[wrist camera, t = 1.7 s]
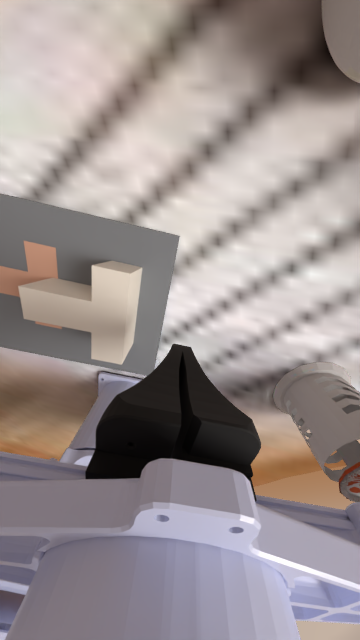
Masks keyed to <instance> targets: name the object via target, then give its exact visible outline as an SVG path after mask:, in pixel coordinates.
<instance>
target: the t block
mask: <svg viewBox="0 0 360 640" xmlns="http://www.w3.org/2000/svg"><path fill="white" fill-rule="evenodd" d="M141 275H142V267H138V266H134V265H130V264H125V263H121V262H116V261H108V262H104V263H99V264H95V265H92V286H90V285H85V284H81V283H76V282H72V281H67V280H62V279H58V278H49V279H45V280H41V281H37V282H33V283H29V284H25V285H21V286H18V288H19V294H20V300H21V305H22V311H23V317H24V319H27V320H32V321H37V322H42V323H47V324H52V325H57V326H62V327H67V328H72V329H77V330H82V331H87V332H91V359H95V360H100V361H105V362H110V363H115V364H121V365H122V363H123V362H124V360H125V358H126V356H127V354H128V352H129V350H130V349H131V347H132V345H133V341H134V333H135V325H136V317H137V308H138V300H139V292H140V284H141Z"/></svg>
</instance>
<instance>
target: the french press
mask: <svg viewBox="0 0 360 640" xmlns="http://www.w3.org/2000/svg"><path fill="white" fill-rule="evenodd" d="M273 398H274V402H275V405H276V406H277V407H278V408H279V409H280V410H281V411H282V412H284V413H287V414H289V415H291V417H292V419H293V421H295V422H296V423H295V422H294V423H295V424H296V425H297V427H298V429H299V431H301V432H302V433H301V432H300V433H301V434H302V435H303V437H304V439H305V441H306V443H307V442H308V443H309V445H310V446H309V445H308V443H307V445H308V446H309V447H310V449H311V451H312V453H313V455H314V456H315V458H316V460H317V461H318V463H319V464H320V466H321V468H322V469H323V471H324V473H325V474H326V475H327V476H328V477H329V478H330V479H331V480H333V481H337V482H339V489H340V493H341V494H343V495H344V496H345V497H346V498H347V499H349V500H350V501H355V502H360V444H359V442H358V441H357V440H358V439H360V406H359V405H360V392H359V391H357V390H356V389H355V388H354V387H353V386H352V385H351V376H350V375H349V374H348V372H347V371H346V370H345V368H343V367H341V366H338V365H336V364H334V363H328V362H314V363H310V364H306V365H302V366H299V367H297V368H295V369H294V370H292V371H290V372H288V373H287V374H285V375H284V376H283V378H282V379H281V380H280V381H279V382H278V383H277V384H276V387H275V390H274V393H273ZM298 425H299V426H301V427H300V428H301V429H300V428H299V426H298ZM308 429H309V430H310V431H311V433H307V432H306V431H307V430H308ZM305 436H307V437H309V439H308V440H307V439H306V437H305ZM335 450H336V451H337V453H335V454H334V455H332V456H330V455H331V454H332V453H333V452H334V451H335ZM342 459H343V460H344V462H345V463H346V465H347V466H346V467H345V468H343V469H342V470H334V471H332V470H330V469H329V468H327V467H325V466H324V463H325V462H326V463H327V464H328V463H337V462H339V461H340V460H342Z"/></svg>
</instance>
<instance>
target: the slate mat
mask: <svg viewBox="0 0 360 640" xmlns="http://www.w3.org/2000/svg"><path fill="white" fill-rule="evenodd" d="M179 237H180V236H177V235H173V234H169V233H164V232H160V231H156V230H152V229H148V228H143V227H139V226H135V225H131V224H127V223H122V222H118V221H114V220H110V219H106V218H101V217H97V216H93V215H89V214H84V213H80V212H76V211H72V210H68V209H63V208H59V207H55V206H51V205H47V204H42V203H38V202H34V201H30V200H26V199H21V198H17V197H13V196H9V195H4V194H0V347H4V348H9V349H14V350H19V351H24V352H30V353H35V354H40V355H45V356H50V357H55V358H60V359H65V360H70V361H75V362H80V363H86V364H91V365H96V366H101V367H106V368H111V369H116V370H121V371H126V372H131V373H136V374H142V375H147V376H148V375H149V374H150V373H151V372H153V371H154V367H155V361H156V356H157V351H158V346H159V341H160V335H161V330H162V325H163V320H164V315H165V309H166V304H167V299H168V294H169V289H170V283H171V278H172V273H173V268H174V263H175V257H176V252H177V247H178V242H179ZM108 261H116V262H121V263H125V264H130V265H134V266H138V267H142V275H141V284H140V292H139V300H138V308H137V317H136V325H135V333H134V341H133V345H132V347H131V349H130V350H129V352H128V354H127V356H126V358H125V360H124V362H123V363H122V365H121V364H115V363H110V362H105V361H100V360H95V359H91V332H87V331H82V330H77V329H72V328H67V327H62V326H57V325H52V324H47V323H42V322H37V321H32V320H27V319H24V317H23V311H22V305H21V300H20V294H19V288H18V286H21V285H25V284H29V283H33V282H37V281H41V280H45V279H49V278H58V279H62V280H67V281H72V282H76V283H81V284H85V285H90V286H92V265H95V264H99V263H104V262H108Z"/></svg>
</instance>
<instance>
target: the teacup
mask: <svg viewBox="0 0 360 640" xmlns="http://www.w3.org/2000/svg"><path fill="white" fill-rule="evenodd" d="M322 22H323V29H324V35H325V39H326V42H327V45H328V49H329V52H330V54H331V56H332V58H333V60H334V62H335V63H336V65H337V66H338V68H339V69H340V70H341V71H342V72H343V73H344V74H345V75H346V76H347V77H349V78H350V79H351V80H353V81H355V82H357V83H360V0H322Z"/></svg>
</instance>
